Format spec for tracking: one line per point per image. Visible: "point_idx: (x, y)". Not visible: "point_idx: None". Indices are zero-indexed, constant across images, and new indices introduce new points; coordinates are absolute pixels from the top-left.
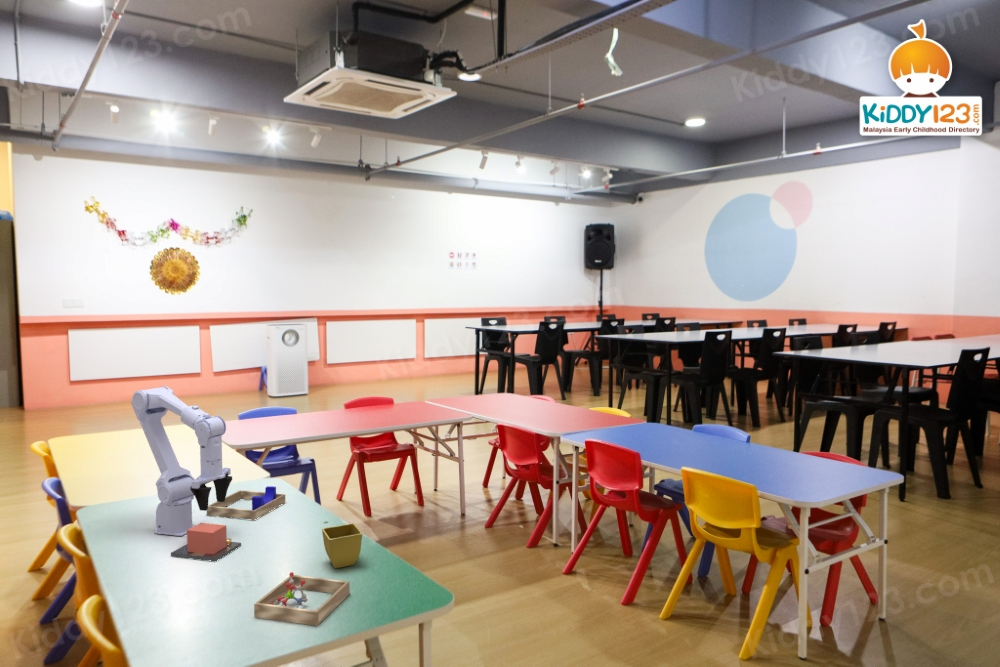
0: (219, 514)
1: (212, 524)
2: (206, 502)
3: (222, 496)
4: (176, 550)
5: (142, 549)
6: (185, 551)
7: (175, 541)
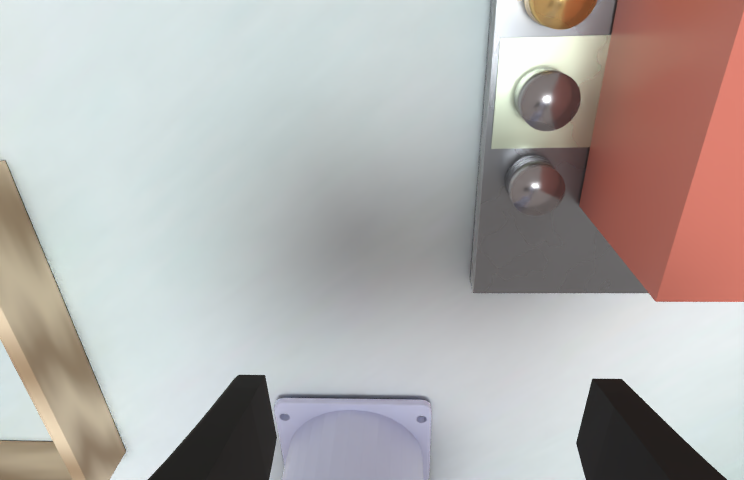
0: (92, 403)
1: (713, 158)
2: (715, 470)
3: (242, 446)
4: None
5: None
6: None
7: (495, 385)
